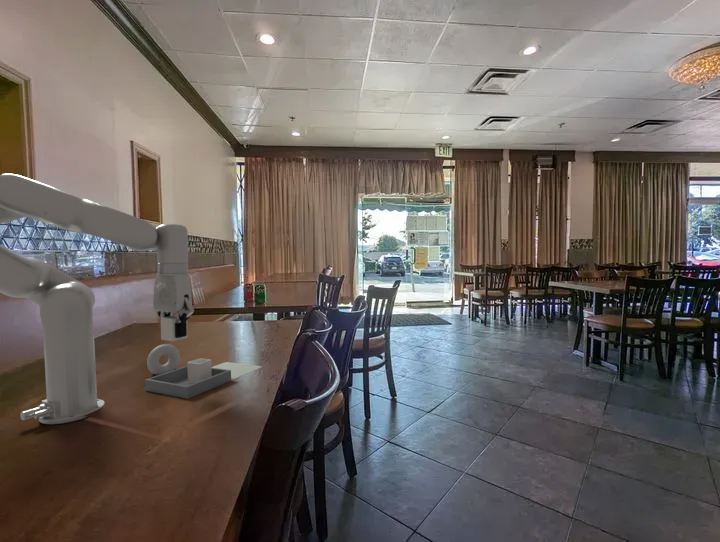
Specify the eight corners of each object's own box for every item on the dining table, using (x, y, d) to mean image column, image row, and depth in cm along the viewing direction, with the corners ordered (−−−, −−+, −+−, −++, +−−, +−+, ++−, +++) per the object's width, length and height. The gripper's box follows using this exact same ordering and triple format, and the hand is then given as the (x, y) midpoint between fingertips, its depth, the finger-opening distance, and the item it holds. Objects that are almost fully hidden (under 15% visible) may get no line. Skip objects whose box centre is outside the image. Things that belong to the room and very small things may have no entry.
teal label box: (172, 341, 97) (172, 318, 97) (161, 339, 99) (160, 317, 99) (187, 337, 101) (187, 315, 101) (176, 336, 103) (175, 315, 103)
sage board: (234, 382, 109) (233, 378, 109) (195, 375, 116) (195, 372, 116) (262, 369, 121) (262, 366, 121) (226, 364, 128) (226, 361, 128)
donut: (150, 380, 112) (149, 348, 112) (145, 378, 115) (144, 346, 114) (182, 371, 120) (181, 341, 120) (177, 370, 123) (176, 340, 122)
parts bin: (187, 402, 94) (187, 387, 94) (145, 393, 101) (144, 379, 101) (231, 383, 108) (230, 370, 108) (191, 377, 115) (190, 364, 115)
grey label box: (199, 384, 105) (198, 363, 104) (188, 382, 106) (187, 361, 106) (211, 379, 109) (211, 359, 109) (200, 377, 111) (200, 357, 110)
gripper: (139, 270, 100) (140, 336, 100) (183, 270, 93) (184, 341, 93) (164, 269, 107) (165, 331, 107) (206, 269, 100) (207, 336, 100)
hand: (174, 335), depth 100 cm, fingers closed on teal label box, 4 cm apart
